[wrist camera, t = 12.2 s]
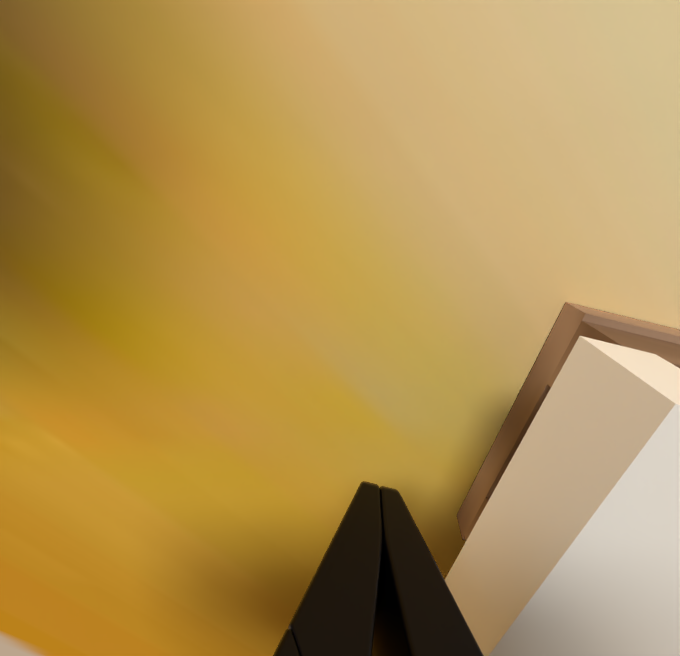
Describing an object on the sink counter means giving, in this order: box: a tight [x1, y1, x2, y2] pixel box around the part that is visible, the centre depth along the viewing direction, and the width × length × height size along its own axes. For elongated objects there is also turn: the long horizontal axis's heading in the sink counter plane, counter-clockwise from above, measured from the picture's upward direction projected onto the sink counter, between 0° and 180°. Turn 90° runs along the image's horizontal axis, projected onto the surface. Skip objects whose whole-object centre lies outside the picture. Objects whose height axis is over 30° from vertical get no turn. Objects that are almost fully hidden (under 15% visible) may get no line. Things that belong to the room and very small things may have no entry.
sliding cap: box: [445, 336, 680, 656], centre depth 8 cm, size 9×6×4 cm, turn 167°
